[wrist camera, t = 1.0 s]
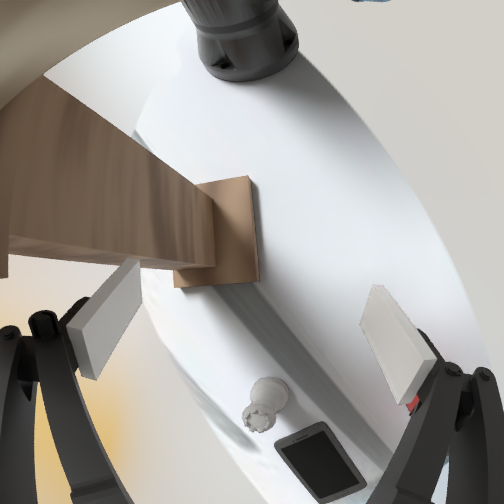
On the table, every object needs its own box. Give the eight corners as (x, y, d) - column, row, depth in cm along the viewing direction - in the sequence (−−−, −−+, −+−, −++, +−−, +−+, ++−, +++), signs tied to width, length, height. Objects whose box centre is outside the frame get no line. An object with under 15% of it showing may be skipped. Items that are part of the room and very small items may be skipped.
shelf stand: (250, 179, 34) (82, -35, 5) (259, 281, 33) (-26, 275, 4) (175, 193, 36) (-33, 73, 7) (179, 287, 35) (-81, 285, 6)
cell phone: (320, 502, 28) (320, 506, 28) (272, 441, 31) (271, 444, 30) (368, 483, 27) (368, 486, 27) (324, 418, 30) (324, 420, 29)
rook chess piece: (291, 407, 31) (283, 440, 23) (254, 409, 32) (237, 441, 24) (287, 373, 31) (277, 400, 23) (249, 376, 32) (229, 402, 24)
